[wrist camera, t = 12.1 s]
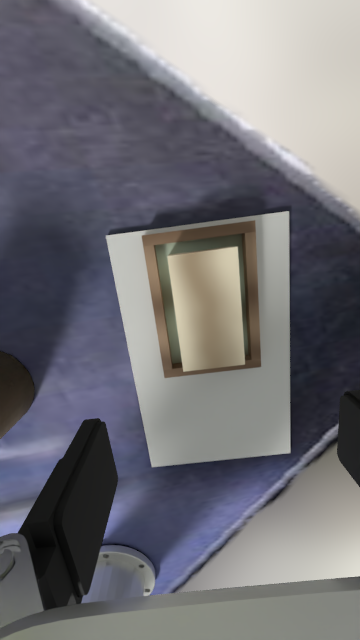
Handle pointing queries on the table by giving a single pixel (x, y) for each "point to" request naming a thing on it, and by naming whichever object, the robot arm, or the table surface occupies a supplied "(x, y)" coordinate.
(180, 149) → the table surface
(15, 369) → the pillar candle
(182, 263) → the tall cream rectangular prism
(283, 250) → the mat
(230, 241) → the frame
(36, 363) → the table surface
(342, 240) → the table surface
